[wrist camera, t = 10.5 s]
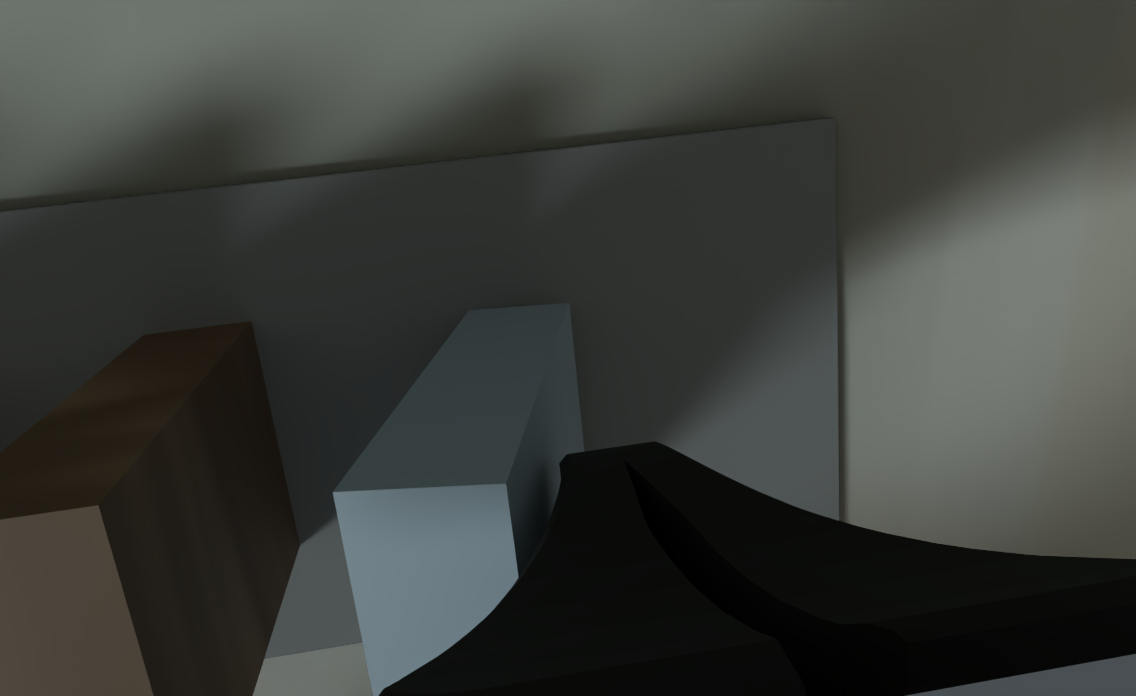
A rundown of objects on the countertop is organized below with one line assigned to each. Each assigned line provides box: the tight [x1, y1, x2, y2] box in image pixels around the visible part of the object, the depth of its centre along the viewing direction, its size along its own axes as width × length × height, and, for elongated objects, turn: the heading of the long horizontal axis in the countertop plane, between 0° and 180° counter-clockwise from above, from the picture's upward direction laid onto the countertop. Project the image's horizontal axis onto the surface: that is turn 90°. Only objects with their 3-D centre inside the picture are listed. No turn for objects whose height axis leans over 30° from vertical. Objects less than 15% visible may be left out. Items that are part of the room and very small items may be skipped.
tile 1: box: [0, 321, 300, 696], centre depth 12 cm, size 2×4×7 cm, turn 6°
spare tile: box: [333, 303, 584, 696], centre depth 13 cm, size 2×4×7 cm, turn 5°
